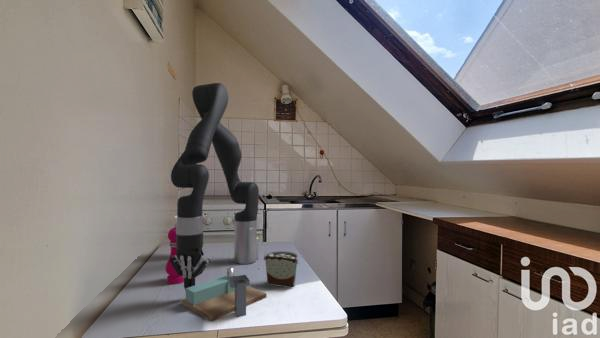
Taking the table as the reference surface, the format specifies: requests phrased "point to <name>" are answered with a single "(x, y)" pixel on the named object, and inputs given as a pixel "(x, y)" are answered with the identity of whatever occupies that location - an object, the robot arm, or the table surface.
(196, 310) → the board
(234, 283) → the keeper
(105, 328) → the table surface
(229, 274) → the capsule
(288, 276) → the food container
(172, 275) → the pepper mill
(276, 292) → the table surface
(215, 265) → the table surface
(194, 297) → the teal bar with hole
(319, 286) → the table surface
